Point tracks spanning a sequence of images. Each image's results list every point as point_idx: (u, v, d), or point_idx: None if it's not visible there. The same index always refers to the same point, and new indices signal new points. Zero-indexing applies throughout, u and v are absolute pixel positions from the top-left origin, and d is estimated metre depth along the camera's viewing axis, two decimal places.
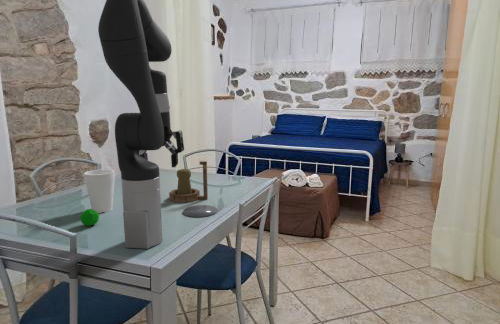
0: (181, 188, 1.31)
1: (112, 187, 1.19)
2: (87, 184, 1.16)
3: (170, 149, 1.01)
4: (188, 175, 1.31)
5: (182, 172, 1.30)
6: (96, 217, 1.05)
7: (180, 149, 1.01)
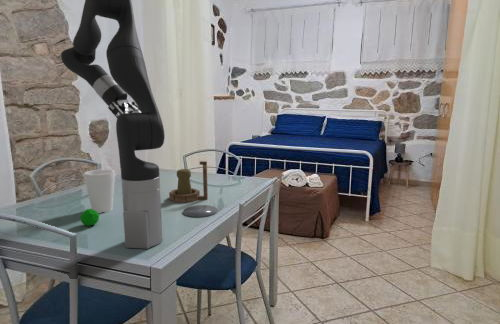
0: (181, 188, 1.31)
1: (112, 187, 1.19)
2: (87, 184, 1.16)
3: (139, 111, 1.28)
4: (188, 175, 1.31)
5: (182, 172, 1.30)
6: (96, 217, 1.05)
7: None
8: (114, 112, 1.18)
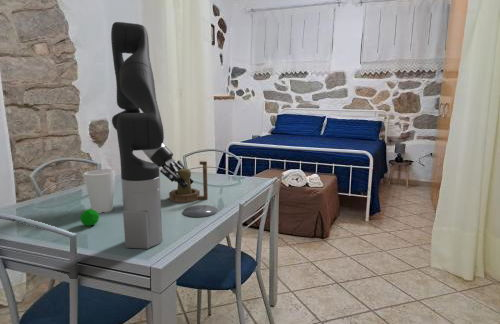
0: (181, 188, 1.31)
1: (112, 187, 1.19)
2: (87, 184, 1.16)
3: None
4: (188, 175, 1.31)
5: (182, 172, 1.30)
6: (96, 217, 1.05)
7: None
8: (167, 175, 1.28)
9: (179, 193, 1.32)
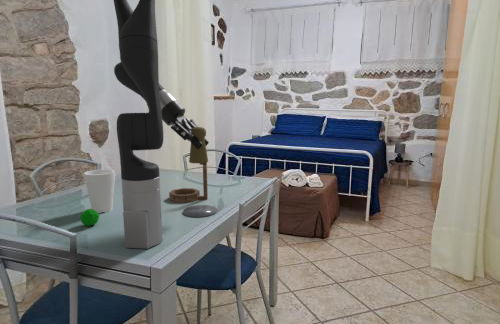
0: (195, 148, 1.12)
1: (112, 187, 1.19)
2: (87, 184, 1.16)
3: None
4: (203, 134, 1.12)
5: (196, 130, 1.11)
6: (96, 217, 1.05)
7: None
8: (179, 132, 1.09)
9: (192, 155, 1.13)
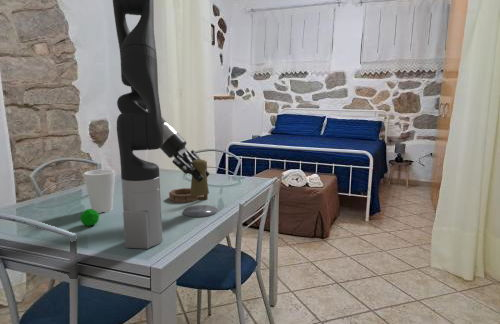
0: (196, 181, 1.14)
1: (112, 187, 1.19)
2: (87, 184, 1.16)
3: None
4: (204, 167, 1.14)
5: (197, 163, 1.13)
6: (96, 217, 1.05)
7: None
8: (180, 167, 1.11)
9: (193, 187, 1.15)
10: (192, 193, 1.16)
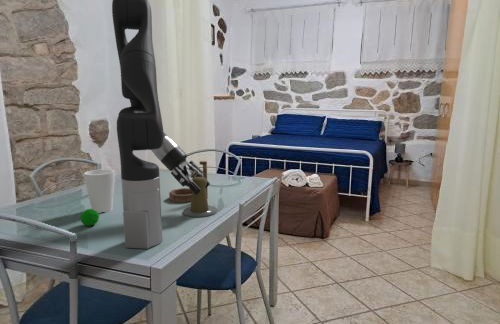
0: (196, 199, 1.15)
1: (112, 187, 1.19)
2: (87, 184, 1.16)
3: (198, 172, 1.20)
4: (204, 184, 1.15)
5: (197, 181, 1.14)
6: (96, 217, 1.05)
7: (201, 170, 1.23)
8: (178, 178, 1.10)
9: (193, 204, 1.16)
10: (192, 210, 1.16)
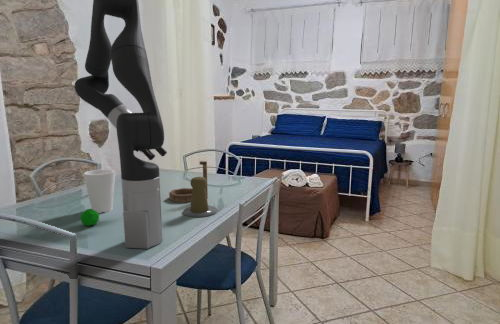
0: (196, 199, 1.15)
1: (112, 187, 1.19)
2: (87, 184, 1.16)
3: None
4: (204, 184, 1.15)
5: (197, 181, 1.14)
6: (96, 217, 1.05)
7: None
8: None
9: (193, 204, 1.16)
10: (192, 210, 1.16)
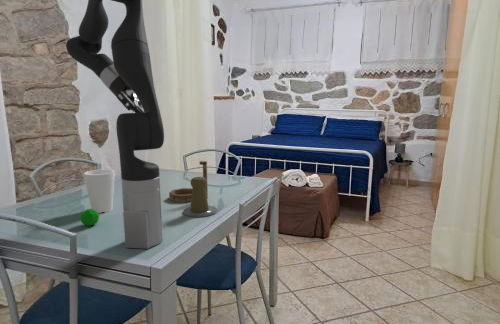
0: (196, 198, 1.15)
1: (112, 187, 1.19)
2: (87, 184, 1.16)
3: None
4: (204, 184, 1.15)
5: (197, 181, 1.14)
6: (96, 217, 1.05)
7: None
8: (123, 102, 1.13)
9: (193, 204, 1.16)
10: (192, 210, 1.16)
